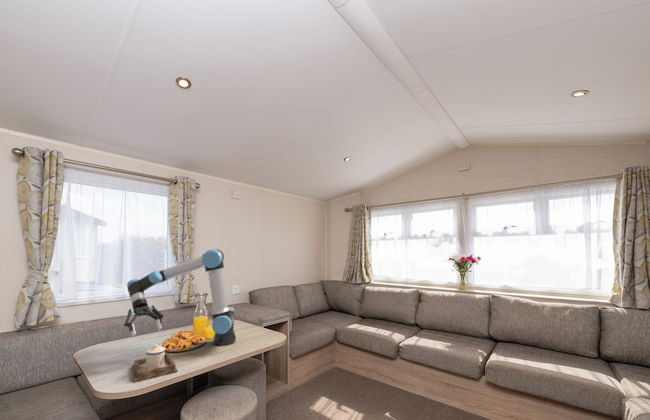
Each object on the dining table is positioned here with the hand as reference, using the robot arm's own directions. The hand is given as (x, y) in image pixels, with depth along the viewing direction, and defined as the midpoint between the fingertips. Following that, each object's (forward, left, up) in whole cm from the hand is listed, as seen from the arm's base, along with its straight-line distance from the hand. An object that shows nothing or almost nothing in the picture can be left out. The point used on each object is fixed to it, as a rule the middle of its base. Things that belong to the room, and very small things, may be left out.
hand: (147, 332), depth 167 cm
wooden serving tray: (-3, +10, -18) cm, 21 cm away
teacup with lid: (-3, +10, -16) cm, 20 cm away
